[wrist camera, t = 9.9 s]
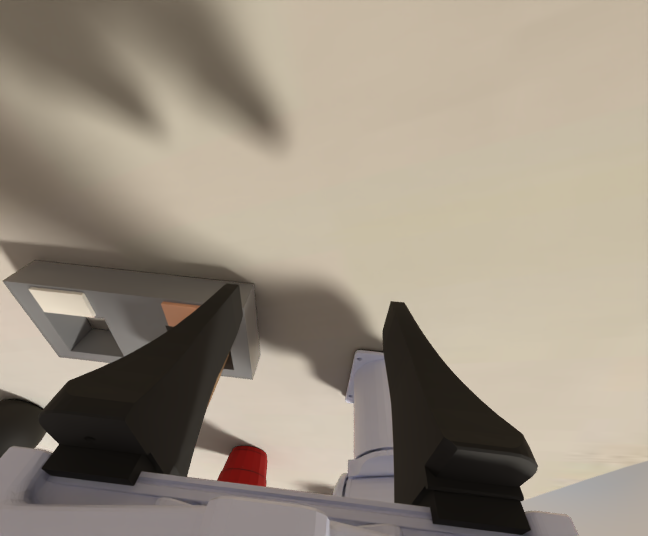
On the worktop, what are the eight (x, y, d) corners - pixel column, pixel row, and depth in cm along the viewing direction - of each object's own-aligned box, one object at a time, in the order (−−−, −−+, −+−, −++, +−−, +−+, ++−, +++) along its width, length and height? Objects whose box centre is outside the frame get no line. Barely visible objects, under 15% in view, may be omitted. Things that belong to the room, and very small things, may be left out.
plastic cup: (283, 470, 50) (267, 569, 41) (221, 462, 50) (190, 559, 41) (284, 442, 44) (265, 552, 34) (213, 433, 44) (174, 539, 34)
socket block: (260, 354, 32) (251, 382, 29) (81, 334, 32) (56, 359, 29) (254, 284, 26) (242, 310, 23) (34, 260, 26) (-2, 283, 24)
